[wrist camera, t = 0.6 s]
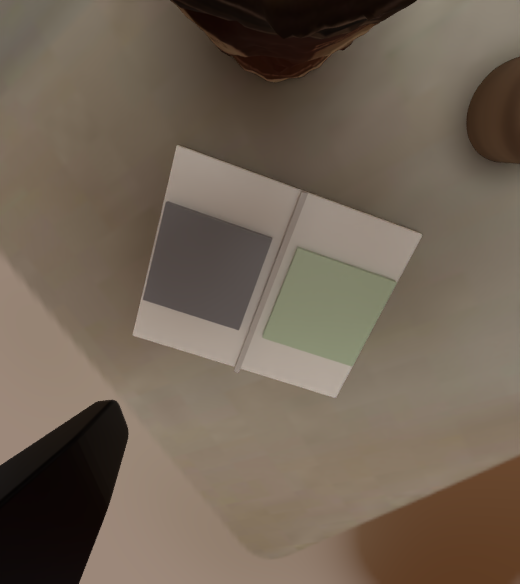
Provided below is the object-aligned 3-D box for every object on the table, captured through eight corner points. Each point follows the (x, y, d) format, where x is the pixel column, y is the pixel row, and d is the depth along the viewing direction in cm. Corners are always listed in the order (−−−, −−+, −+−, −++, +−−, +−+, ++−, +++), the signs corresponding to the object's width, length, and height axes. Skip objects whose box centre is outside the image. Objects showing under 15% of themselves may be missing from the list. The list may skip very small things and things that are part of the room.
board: (418, 232, 19) (426, 237, 18) (334, 391, 23) (336, 403, 22) (179, 145, 17) (174, 145, 16) (136, 330, 21) (129, 339, 20)
